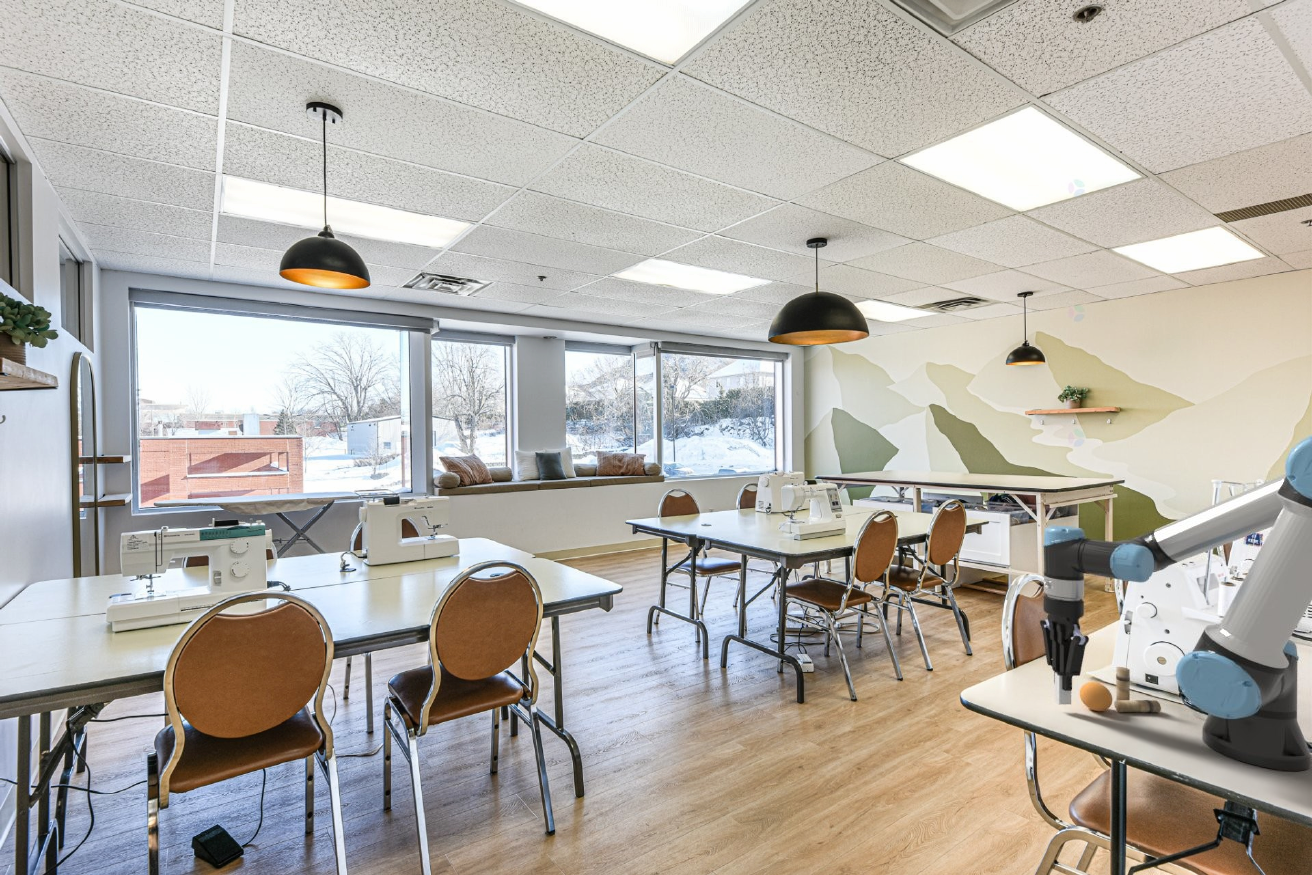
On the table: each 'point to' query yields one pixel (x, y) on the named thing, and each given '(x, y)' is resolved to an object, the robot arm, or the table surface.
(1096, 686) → the orange egg
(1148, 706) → the pin
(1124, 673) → the pin
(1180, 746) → the table surface
